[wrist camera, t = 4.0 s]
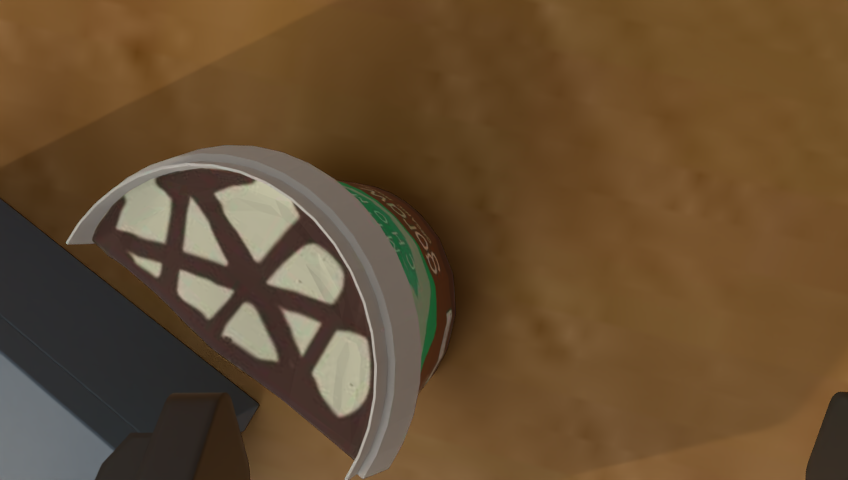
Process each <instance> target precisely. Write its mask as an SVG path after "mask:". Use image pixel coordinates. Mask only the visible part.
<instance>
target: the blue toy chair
mask: <svg viewBox="0 0 848 480" xmlns="http://www.w3.org/2000/svg"><path fill="white" fill-rule="evenodd" d="M172 393H228V394H229V395H230V397H231V399H232V402H233V406H234V410H235V414H236V417H237V421H238V425H239V429H240V433H241V432H242V431H244V430H245V428H246V427H247V425H248V423H249V421H250V420H251V418H252V416H253V415H254V413H255V411H256V409H257V408H258V406H259V404H258V403H257V402H256V401H254V400H253V399H252V398H251V397H249V396H248V395H247V394H246V393H244V392H243V391H242V390H240V389H239V388H238V387H237V386H235V385H234V384H233V383H232V382H230V381H229V380H228V379H227V378H225V377H224V376H223V375H222V374H220V373H219V372H218V371H217V370H215V369H214V368H213V367H212V366H210V365H209V364H208V363H206V362H205V361H204V360H203V359H201V358H200V357H199V356H198V355H196V354H195V353H194V352H193V351H191V350H190V349H189V348H188V347H186V346H185V345H184V344H183V343H181V342H180V341H179V340H178V339H176V338H175V337H174V336H173V335H171V334H170V333H169V332H167V331H166V330H165V329H164V328H162V327H161V326H160V325H159V324H157V323H156V322H155V321H154V320H152V319H151V318H150V317H149V316H147V315H146V314H145V313H144V312H142V311H141V310H140V309H139V308H137V307H136V306H135V305H133V304H132V303H131V302H130V301H128V300H127V299H126V298H125V297H123V296H122V295H121V294H120V293H118V292H117V291H116V290H115V289H113V288H112V287H111V286H110V285H108V284H107V283H106V282H105V281H103V280H102V279H101V278H99V277H98V276H97V275H96V274H94V273H93V272H92V271H91V270H89V269H88V268H87V267H86V266H84V265H83V264H82V263H81V262H79V261H78V260H77V259H76V258H74V257H73V256H72V255H71V254H69V253H68V252H67V251H65V250H64V249H63V248H62V247H60V246H59V245H58V244H57V243H55V242H54V241H53V240H52V239H50V238H49V237H48V236H47V235H45V234H44V233H43V232H42V231H40V230H39V229H38V228H37V227H35V226H34V225H33V224H32V223H30V222H29V221H28V220H26V219H25V218H24V217H23V216H21V215H20V214H19V213H18V212H16V211H15V210H14V209H13V208H11V207H10V206H9V205H8V204H6V203H5V202H4V201H3V200H1V199H0V480H95V478H96V476H97V474H98V471H99V469H100V467H101V464H102V463H103V462H104V461H105V460H106V459H107V458H108V457H109V456H110V454H111V453H112V452H113V451H114V450H115V449H116V448H117V447H118V446H119V445H120V444H121V443H122V441H123V440H124V439H125V438H126V437H127V436H128V435H129V434H130V433H153V431H154V429H155V426H156V424H157V421H158V419H159V416H160V413H161V411H162V408H163V406H164V404H165V401H166V400H167V398H168V397H169V395H170V394H172Z"/></svg>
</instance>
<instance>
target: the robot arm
mask: <svg viewBox="0 0 848 480" xmlns="http://www.w3.org/2000/svg"><path fill="white" fill-rule="evenodd" d="M95 480H250V470H249V463H248V459H247V455H246V451H245V448H244V444H243V440H242V436H241V433H240V429H239V425H238V421H237V417H236V414H235V410H234V406H233V402H232V399H231V397H230V395H229V394H228V393H172V394H170V395H169V397H168V398H167V400H166V401H165V404H164V406H163V408H162V411H161V413H160V416H159V419H158V421H157V424H156V426H155V429H154V431H153V433H130V434H129V435H128V436H127V437H126V438H125V439H124V440H123V441H122V443H121V444H120V445H119V446H118V447H117V448H116V449H115V450H114V451H113V452H112V453H111V454H110V456H109V457H108V458H107V459H106V460H105V461H104V462H103V463H102V464H101V467H100V469H99V471H98V474H97V476H96V478H95ZM806 480H848V392H838V393H836V394H835V395H834V396H833V397H832V399H831V401H830V403H829V406H828V409H827V412H826V414H825V417H824V420H823V423H822V425H821V428H820V431H819V434H818V436H817V439H816V442H815V445H814V448H813V450H812V453H811V456H810V459H809V461H808V465H807V469H806Z"/></svg>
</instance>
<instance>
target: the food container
mask: <svg viewBox="0 0 848 480" xmlns="http://www.w3.org/2000/svg"><path fill="white" fill-rule="evenodd" d="M66 244H96V245H97V246H99V247H100V248H101V249H102V250H103V251H104V252H105V253H106V254H107V255H108V256H109V257H111V258H112V259H114V260H116V261H117V262H119V263H120V264H121V265H123V266H124V267H125V268H127V269H128V270H129V271H130V272H132V273H133V274H134V275H135V276H136V277H137V278H139V279H140V280H141V281H142V282H143V283H144V284H145V285H147V286H148V287H149V288H150V289H151V290H152V291H154V292H155V293H156V294H157V295H158V296H159V297H160V298H161V299H162V300H163V301H164V302H165V303H166V304H167V305H168V306H169V307H170V308H171V309H172V310H173V311H174V312H175V313H176V314H177V315H178V316H179V317H180V318H181V319H182V320H183V321H184V322H185V323H186V324H187V325H188V326H189V327H190V328H191V329H192V330H193V331H194V332H195V333H196V334H197V335H198V336H199V337H200V338H201V339H202V340H203V341H204V342H205V343H206V344H207V345H209V346H210V347H211V348H212V349H213V350H215V351H216V352H217V353H219V354H220V355H221V356H223V357H224V358H225V359H227V360H228V361H229V362H231V363H232V364H233V365H235V366H236V367H238V368H239V369H241V370H242V371H243V372H245V373H246V374H248V375H249V376H251V377H252V378H253V379H255V380H256V381H258V382H259V383H260V384H262V385H263V386H264V387H266V388H267V389H268V390H270V391H271V392H272V393H274V394H275V395H277V396H278V397H279V398H281V399H282V400H283V401H284V402H286V403H287V404H288V405H289V406H290V407H292V408H293V409H294V410H295V411H296V412H298V413H299V414H300V415H301V416H302V417H304V418H305V419H306V420H307V421H308V422H310V423H311V424H312V425H313V426H314V427H316V428H317V429H318V430H319V431H320V432H322V433H323V434H324V435H325V436H326V437H327V438H329V439H330V440H331V441H332V442H333V443H335V444H336V445H337V446H338V447H339V448H340V449H342V450H343V451H344V452H345V453H346V454H347V455H349V456H350V457H351V458H352V459H353V460H355V461H354V463H353V465H352V466H351V468H350V470H349V472H348V474H347V475H346V477H345V479H344V480H349V479H351V478H352V477H353V476H355V475H356V474H358V475H359V476H360V477H361V478H362V479H364V478H367V477H369V476H372V475H374V474H377V473H379V472H382V471H384V470H386V469H389V467H390V465H391V464H392V462H393V460H394V458H395V457H396V455H397V453H398V451H399V449H400V448H401V446H402V444H403V442H404V439H405V436H406V434H407V431H408V428H409V426H410V423H411V420H412V418H413V415H414V410H415V405H416V400H417V395H418V393H419V392H420V391H421V390H422V388H423V387H424V386H425V384H426V383H427V382H428V381H429V379H430V378H431V377H432V375H433V374H434V372H435V371H436V369H437V367H438V365H439V364H440V362H441V360H442V358H443V356H444V355H445V353H446V351H447V348H448V344H449V340H450V336H451V331H452V327H453V323H454V318H455V314H456V307H455V293H454V280H453V272H452V270H451V267H450V265H449V262H448V260H447V257H446V254H445V252H444V249H443V247H442V244H441V242H440V239H439V237H438V236H437V235H436V233H435V232H434V231H433V230H432V228H431V227H430V226H429V224H428V223H427V222H426V221H425V219H424V218H423V217H422V215H421V214H419V213H418V212H417V211H416V210H415V209H414V208H413V207H411V206H410V205H409V204H408V203H407V202H405V201H403V200H402V199H400V198H398V197H397V196H395V195H394V194H392V193H389V192H387V191H384V190H382V189H379V188H377V187H373V186H369V185H364V184H359V183H353V182H346V181H340V180H335V179H334V178H332V177H330V176H329V175H327V174H326V173H324V172H322V171H321V170H319V169H317V168H316V167H314V166H313V165H311V164H309V163H307V162H305V161H302V160H300V159H298V158H295V157H293V156H290V155H288V154H285V153H283V152H279V151H275V150H270V149H265V148H261V147H256V146H239V145H223V146H217V147H210V148H203V149H198V150H195V151H192V152H189V153H186V154H183V155H179V156H176V157H173V158H170V159H167V160H164V161H161V162H158V163H155V164H152V165H149V166H148V167H146V168H144V169H142V170H140V171H139V172H137V173H135V174H133V175H131V176H130V177H128V178H126V179H125V180H124V181H122V182H121V183H120V184H119V185H118V186H116V187H114V188H113V189H112V190H111V191H109V192H108V193H107V194H106V195H105V196H103V197H102V198H101V199H100V200H98V201H97V202H96V203H95V204H94V205H93V206H92V207H91V209H90V210H89V211H88V212H87V213H86V214H85V215H84V217H83V218H82V219H81V220H80V221H79V222H78V224H77V225H76V227H75V229H74V230H73V232H72V233H71V235H70V237H69V238H68V240H67V241H66Z"/></svg>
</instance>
